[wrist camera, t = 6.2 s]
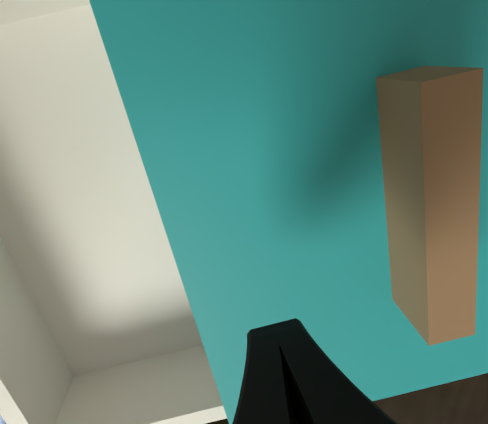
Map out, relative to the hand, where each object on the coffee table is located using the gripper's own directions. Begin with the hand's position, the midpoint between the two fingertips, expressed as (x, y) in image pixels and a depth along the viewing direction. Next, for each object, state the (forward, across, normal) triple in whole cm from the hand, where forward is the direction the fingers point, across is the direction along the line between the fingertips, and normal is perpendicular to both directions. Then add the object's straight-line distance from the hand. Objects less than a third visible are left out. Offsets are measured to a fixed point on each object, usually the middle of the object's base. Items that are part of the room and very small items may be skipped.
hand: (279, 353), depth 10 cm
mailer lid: (+4, -4, -2) cm, 6 cm away
